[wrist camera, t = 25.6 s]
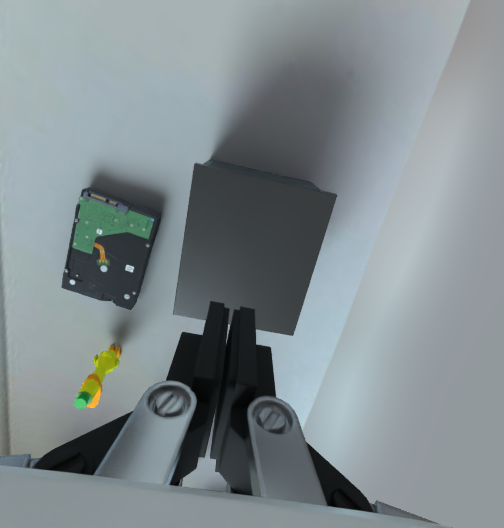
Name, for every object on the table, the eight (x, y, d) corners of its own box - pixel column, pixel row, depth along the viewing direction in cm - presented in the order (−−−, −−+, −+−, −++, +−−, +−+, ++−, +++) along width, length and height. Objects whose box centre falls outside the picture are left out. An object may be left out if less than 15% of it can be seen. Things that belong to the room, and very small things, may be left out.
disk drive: (138, 301, 50) (163, 212, 45) (132, 311, 47) (157, 217, 42) (70, 280, 49) (87, 185, 43) (60, 289, 46) (76, 189, 41)
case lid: (195, 162, 30) (194, 163, 30) (335, 193, 32) (337, 195, 31) (174, 310, 36) (172, 314, 36) (292, 331, 38) (293, 336, 37)
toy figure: (123, 370, 55) (91, 430, 43) (102, 366, 54) (64, 426, 43) (127, 337, 52) (95, 392, 41) (105, 332, 52) (65, 387, 41)
